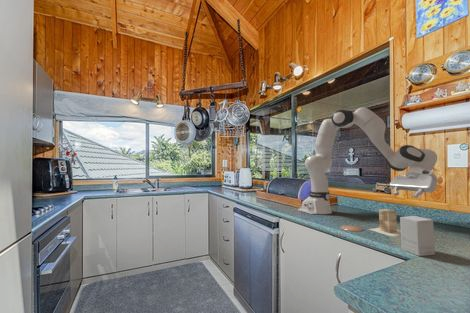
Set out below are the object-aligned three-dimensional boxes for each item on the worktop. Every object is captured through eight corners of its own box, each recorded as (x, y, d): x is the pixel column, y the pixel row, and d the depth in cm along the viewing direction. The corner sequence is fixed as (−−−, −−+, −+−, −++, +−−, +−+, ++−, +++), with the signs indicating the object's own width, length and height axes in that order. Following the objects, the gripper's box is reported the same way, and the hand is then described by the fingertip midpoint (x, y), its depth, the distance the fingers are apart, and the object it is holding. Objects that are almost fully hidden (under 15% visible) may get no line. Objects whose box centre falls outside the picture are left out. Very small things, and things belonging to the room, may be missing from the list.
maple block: (379, 230, 113) (378, 209, 113) (387, 229, 115) (386, 209, 115) (389, 233, 108) (388, 211, 109) (397, 231, 110) (396, 210, 110)
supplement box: (436, 254, 84) (434, 219, 84) (418, 256, 82) (417, 221, 83) (416, 247, 91) (415, 215, 91) (400, 249, 90) (399, 216, 90)
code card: (368, 229, 115) (368, 229, 115) (385, 226, 119) (385, 226, 119) (391, 236, 104) (391, 236, 104) (409, 233, 108) (409, 233, 108)
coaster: (337, 228, 118) (337, 227, 118) (347, 225, 124) (347, 224, 124) (357, 233, 110) (357, 232, 110) (367, 229, 116) (367, 228, 116)
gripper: (393, 171, 129) (382, 189, 125) (436, 171, 109) (423, 193, 106) (399, 178, 130) (388, 197, 126) (442, 180, 111) (430, 202, 107)
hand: (404, 195), depth 116 cm, fingers open, 8 cm apart
